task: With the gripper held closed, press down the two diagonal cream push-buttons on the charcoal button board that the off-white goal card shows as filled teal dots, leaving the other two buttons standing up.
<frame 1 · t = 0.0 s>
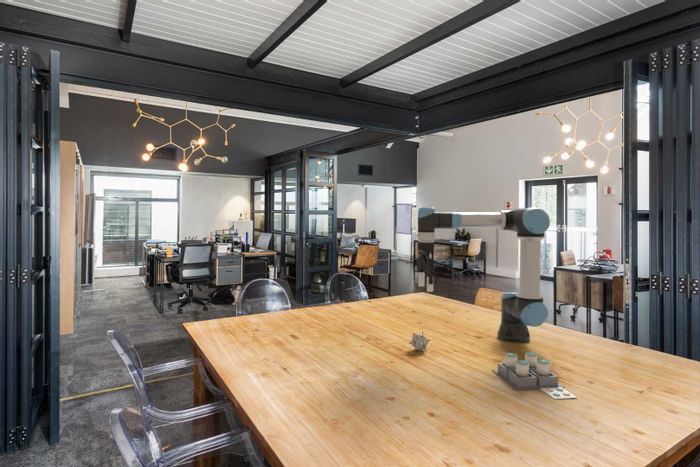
hand: (425, 288, 181), 28 cm above the table, fingers open, 13 cm apart
game die: (419, 350, 182), on the table
button a: (522, 368, 145), point 6 cm above the table, slide at 0.0 cm
button c: (543, 367, 145), point 6 cm above the table, slide at 0.0 cm
button d: (531, 360, 153), point 6 cm above the table, slide at 0.0 cm
button b: (511, 360, 153), point 6 cm above the table, slide at 0.0 cm
board: (526, 379, 149), on the table
goal card: (558, 393, 137), on the table
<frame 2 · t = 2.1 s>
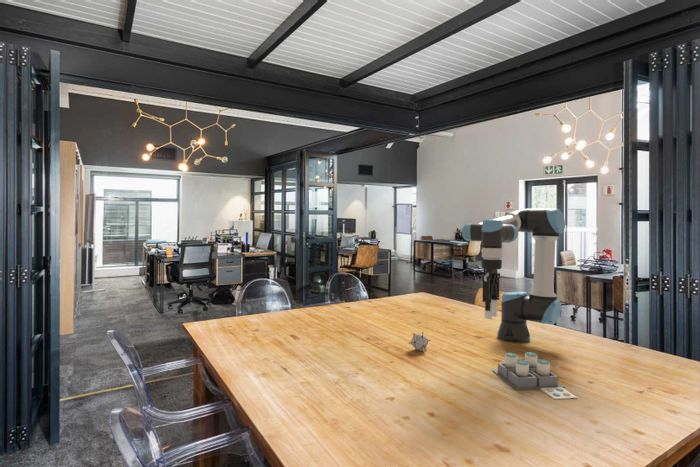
hand: (490, 317, 158), 21 cm above the table, fingers open, 4 cm apart
nothing on the table moved.
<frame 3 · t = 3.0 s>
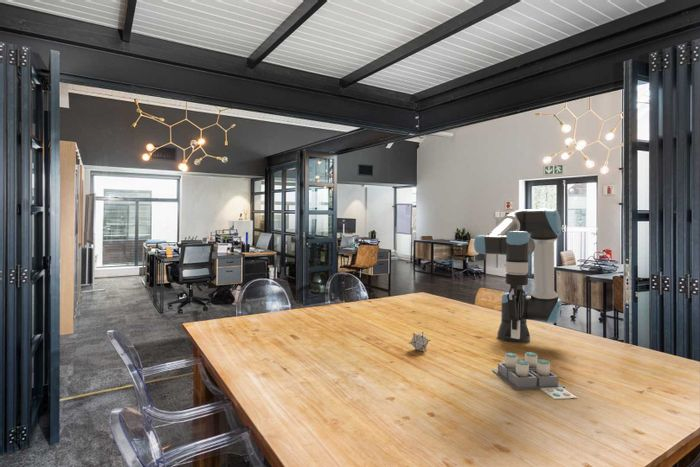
hand: (515, 337, 146), 16 cm above the table, fingers closed
nothing on the table moved.
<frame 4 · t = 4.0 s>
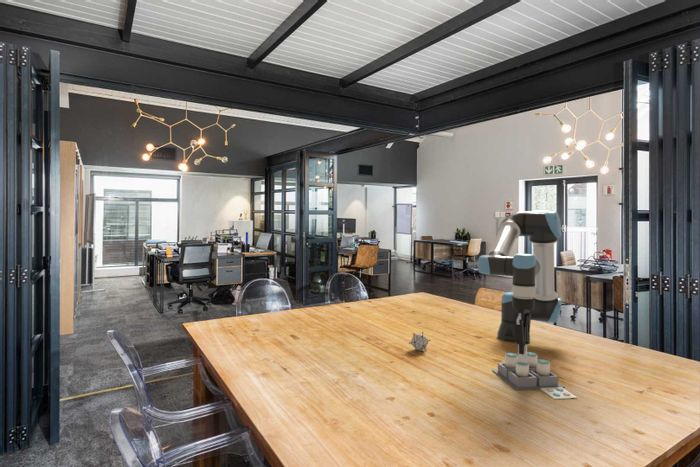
hand: (522, 362, 144), 8 cm above the table, fingers closed
button a: (522, 369, 145), point 5 cm above the table, slide at 0.3 cm, touching gripper
everything else where it was.
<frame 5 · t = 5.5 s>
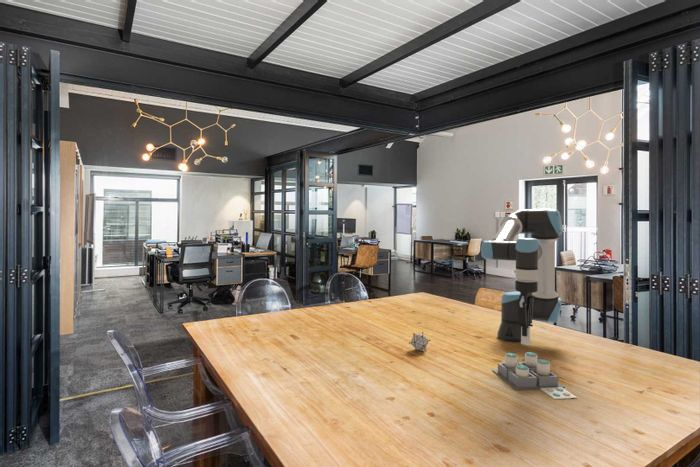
hand: (525, 344, 147), 14 cm above the table, fingers closed
button a: (522, 373, 145), point 4 cm above the table, slide at 1.8 cm
everything else where it was.
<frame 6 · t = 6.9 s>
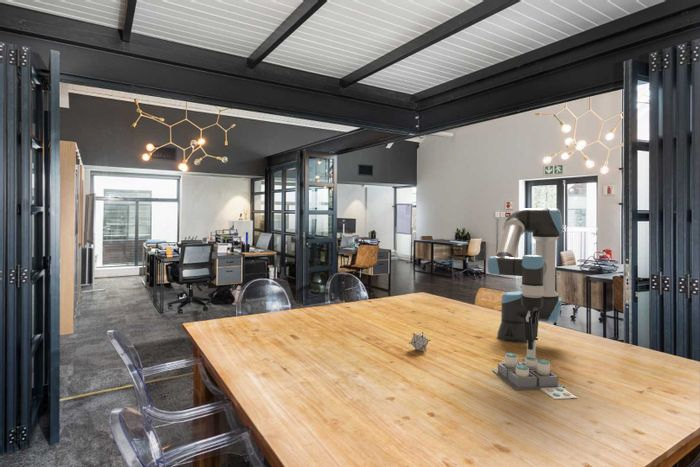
hand: (531, 357, 153), 7 cm above the table, fingers closed
button d: (530, 363, 153), point 4 cm above the table, slide at 1.5 cm, touching gripper
everything else where it was.
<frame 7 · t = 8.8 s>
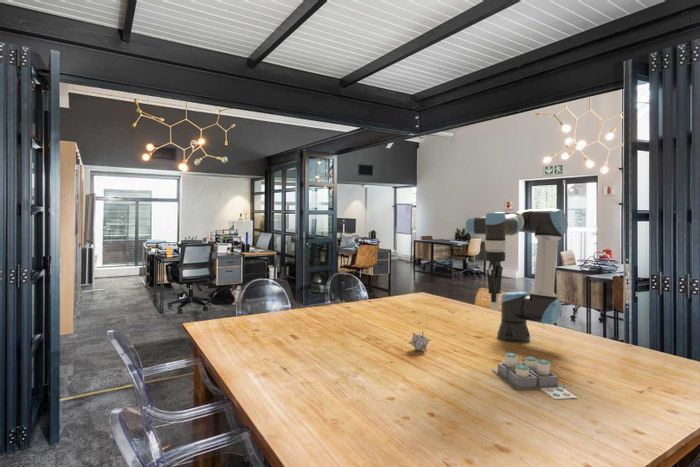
hand: (494, 309, 161), 23 cm above the table, fingers closed
button d: (530, 364, 153), point 4 cm above the table, slide at 1.8 cm
everything else where it was.
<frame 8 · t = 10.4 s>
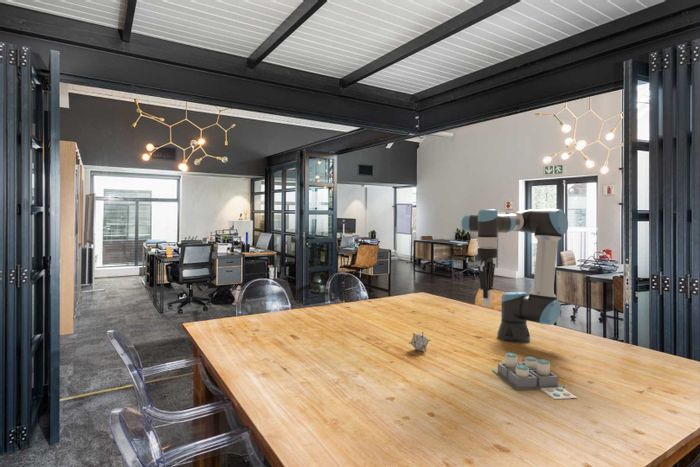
hand: (486, 305, 162), 24 cm above the table, fingers closed
nothing on the table moved.
at the end: button a slide at 1.8 cm; button d slide at 1.8 cm; button b slide at 0.0 cm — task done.
